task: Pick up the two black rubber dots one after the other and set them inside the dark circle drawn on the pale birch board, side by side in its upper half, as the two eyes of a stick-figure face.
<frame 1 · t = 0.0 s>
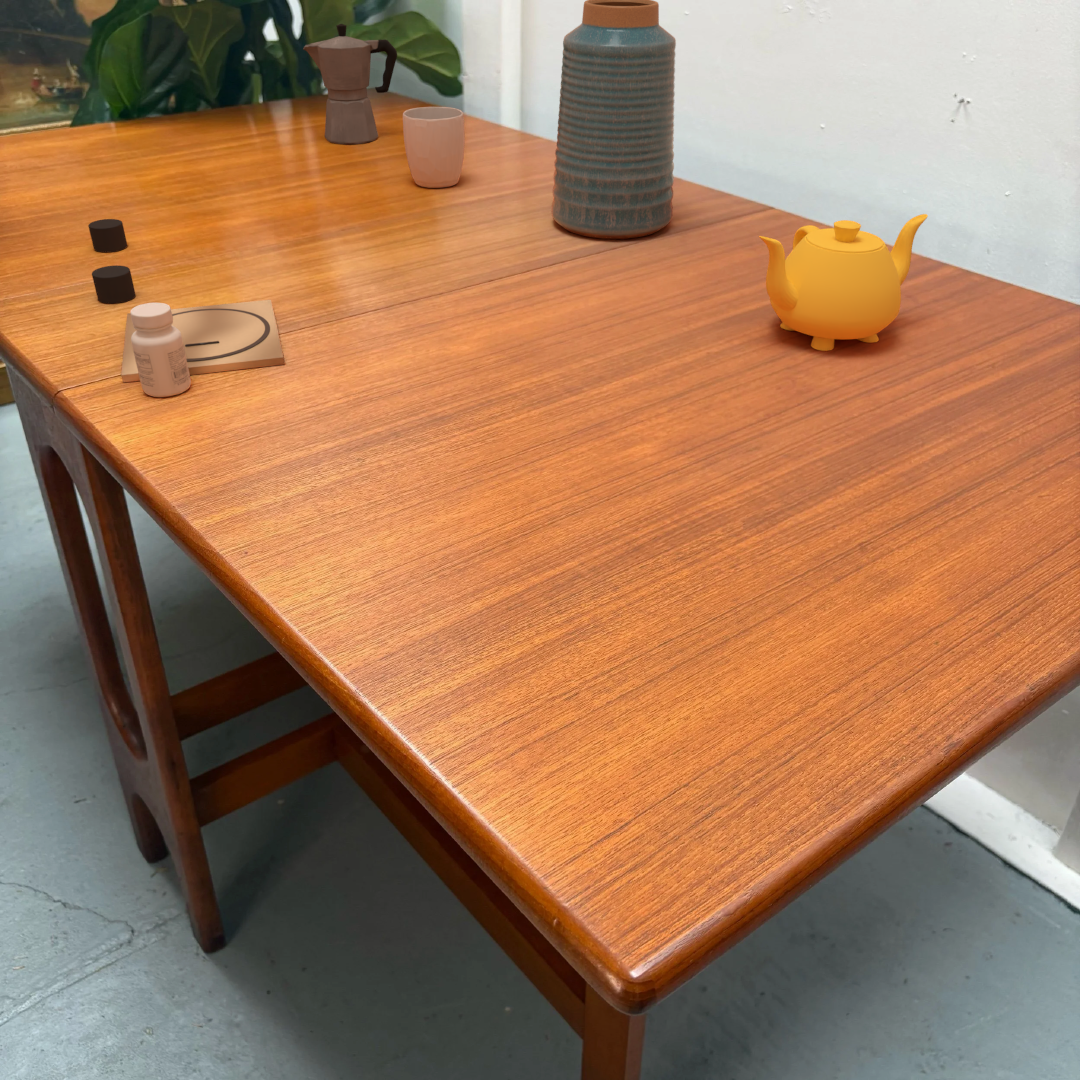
mug: (432, 181, 156), on the table
teapot: (823, 330, 108), on the table
board: (203, 341, 104), on the table
dot right: (116, 297, 114), on the table
vase: (611, 224, 138), on the table
dot left: (110, 247, 129), on the table
coffeepot: (358, 139, 178), on the table
pill bottle: (167, 389, 95), on the table
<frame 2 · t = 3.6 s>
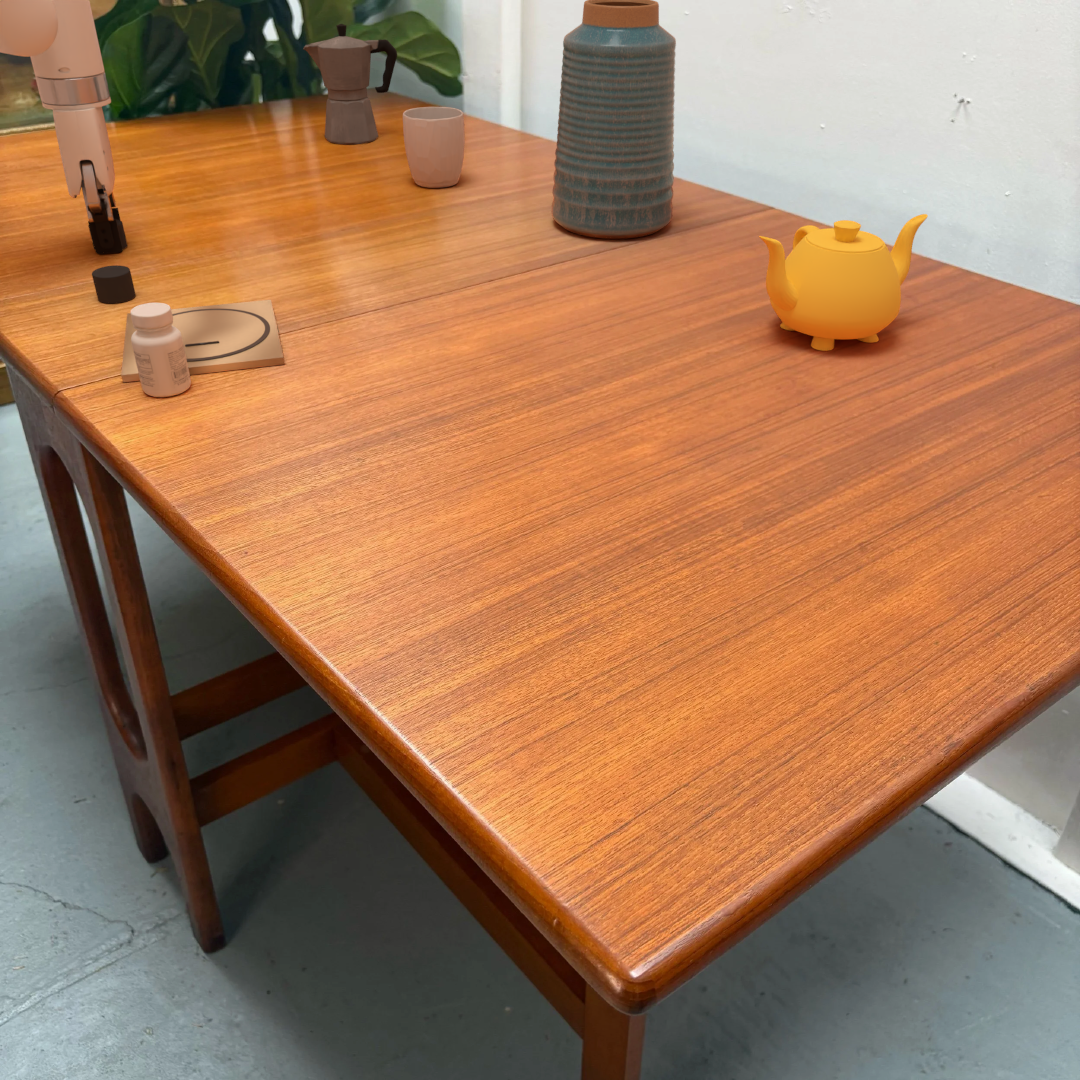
hand: (110, 245, 128), 0 cm above the table, tool pointing down, fingers closed on dot left, 4 cm apart
dot left: (110, 247, 129), on the table, touching gripper
everything else where it was.
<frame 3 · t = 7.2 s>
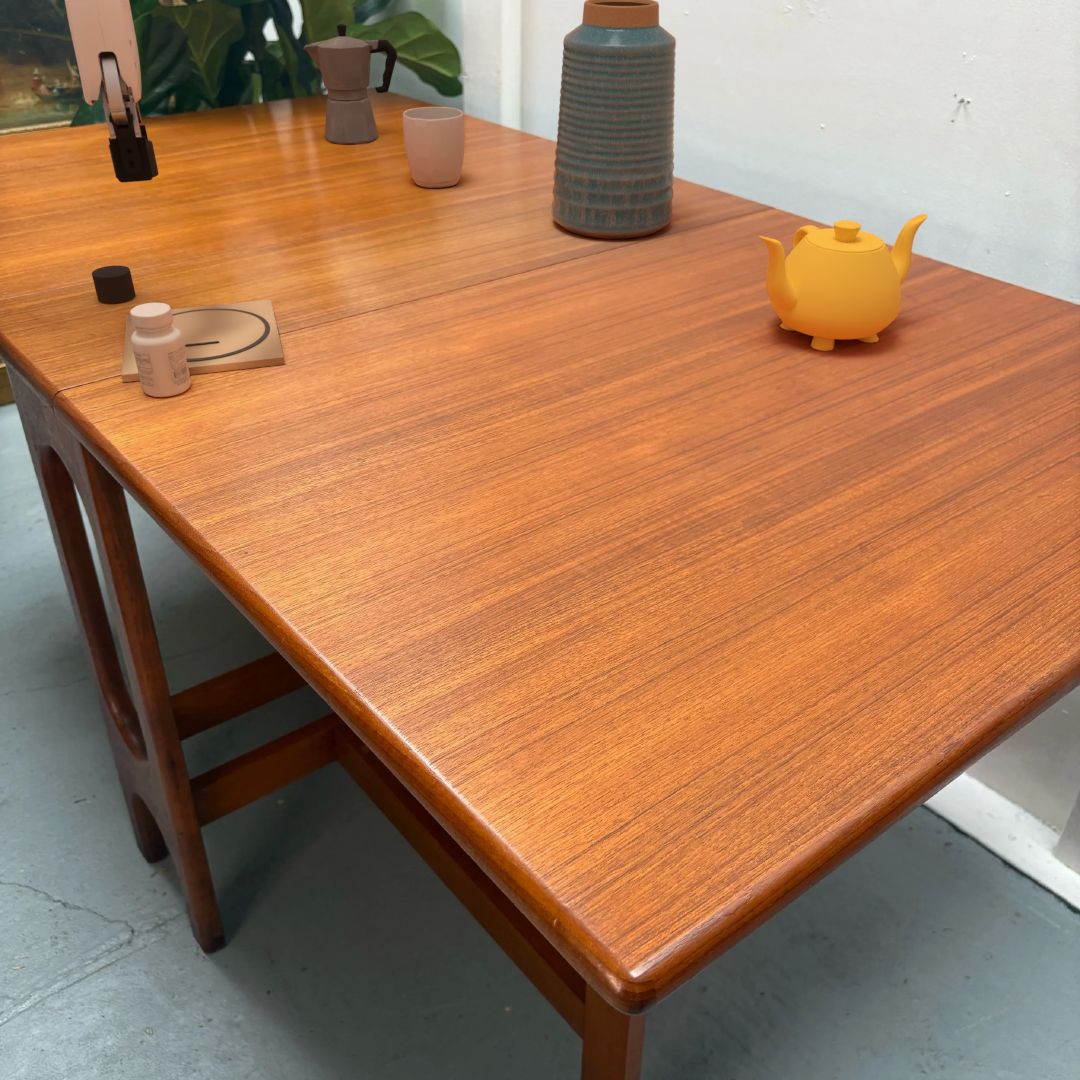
hand: (136, 172, 100), 15 cm above the table, tool pointing down, fingers closed on dot left, 4 cm apart
dot left: (137, 175, 100), point 15 cm above the table, touching gripper
everything else where it was.
when the fingers open (1 cm above the table, at t = 11.1 s): dot left stays where it is, resting on board.
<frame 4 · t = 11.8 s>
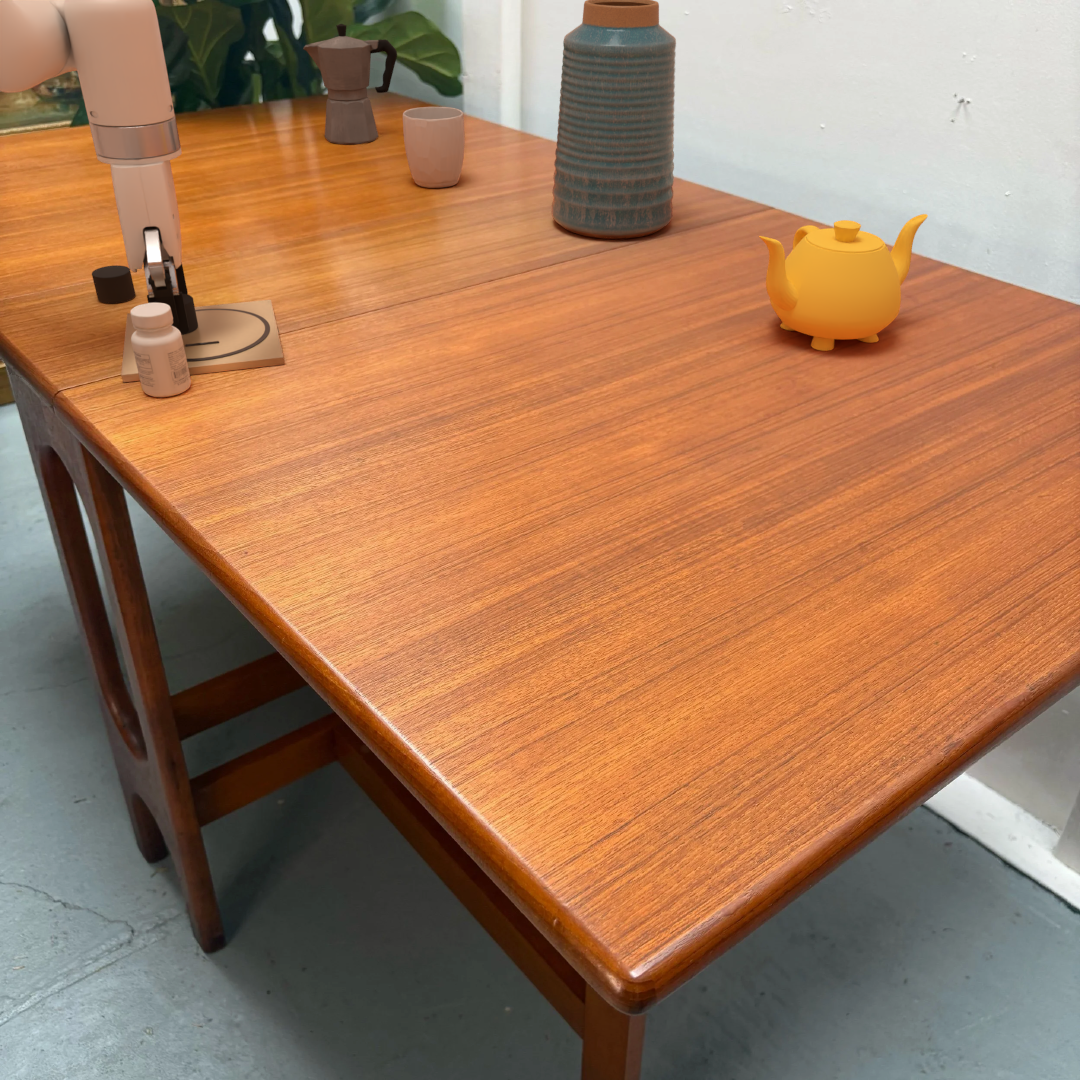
hand: (172, 315, 104), 2 cm above the table, tool pointing down, fingers open, 9 cm apart
dot left: (178, 328, 105), point 1 cm above the table, touching board
everything else where it was.
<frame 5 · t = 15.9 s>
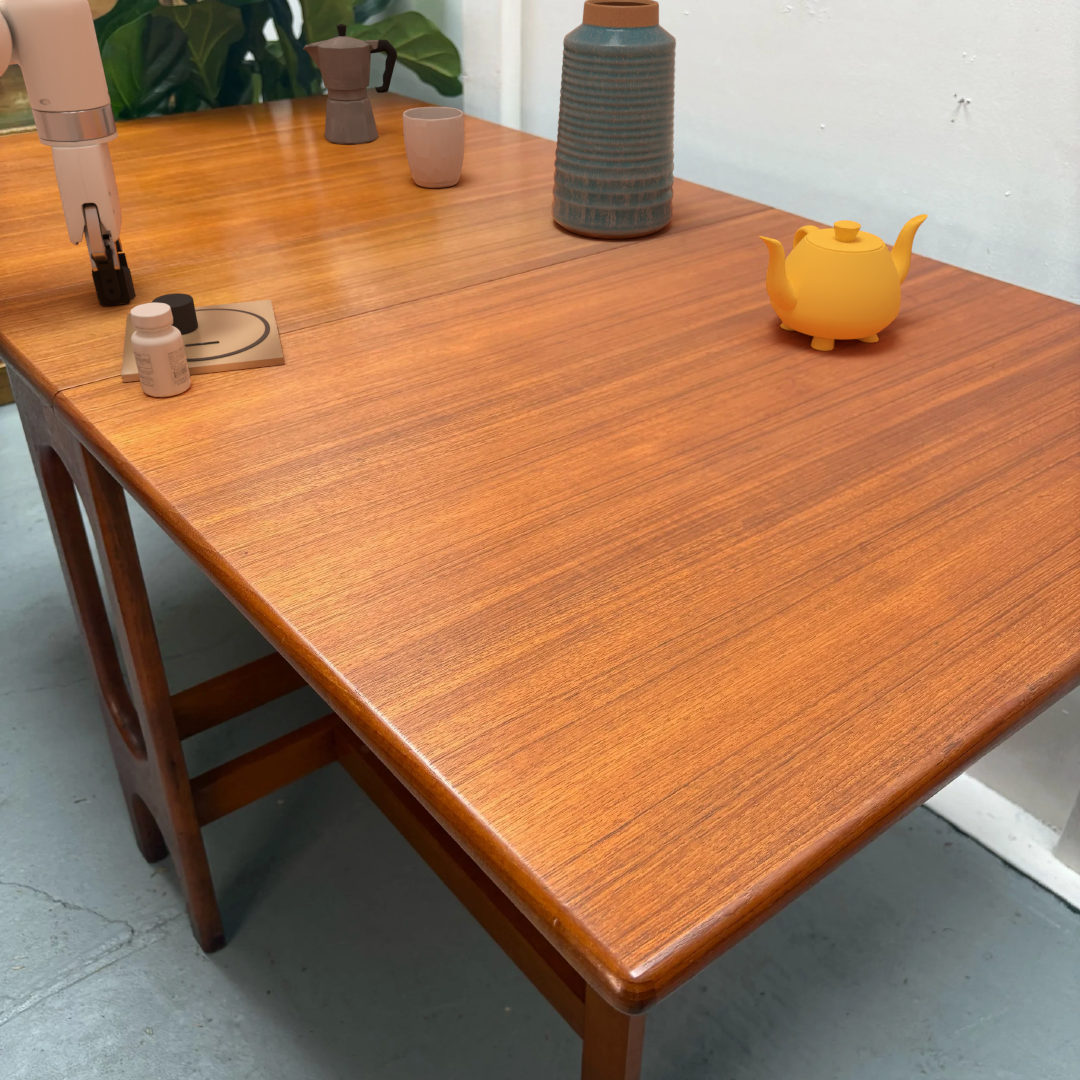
hand: (116, 294, 114), 0 cm above the table, tool pointing down, fingers closed on dot right, 4 cm apart
dot right: (117, 297, 114), on the table, touching gripper
everything else where it was.
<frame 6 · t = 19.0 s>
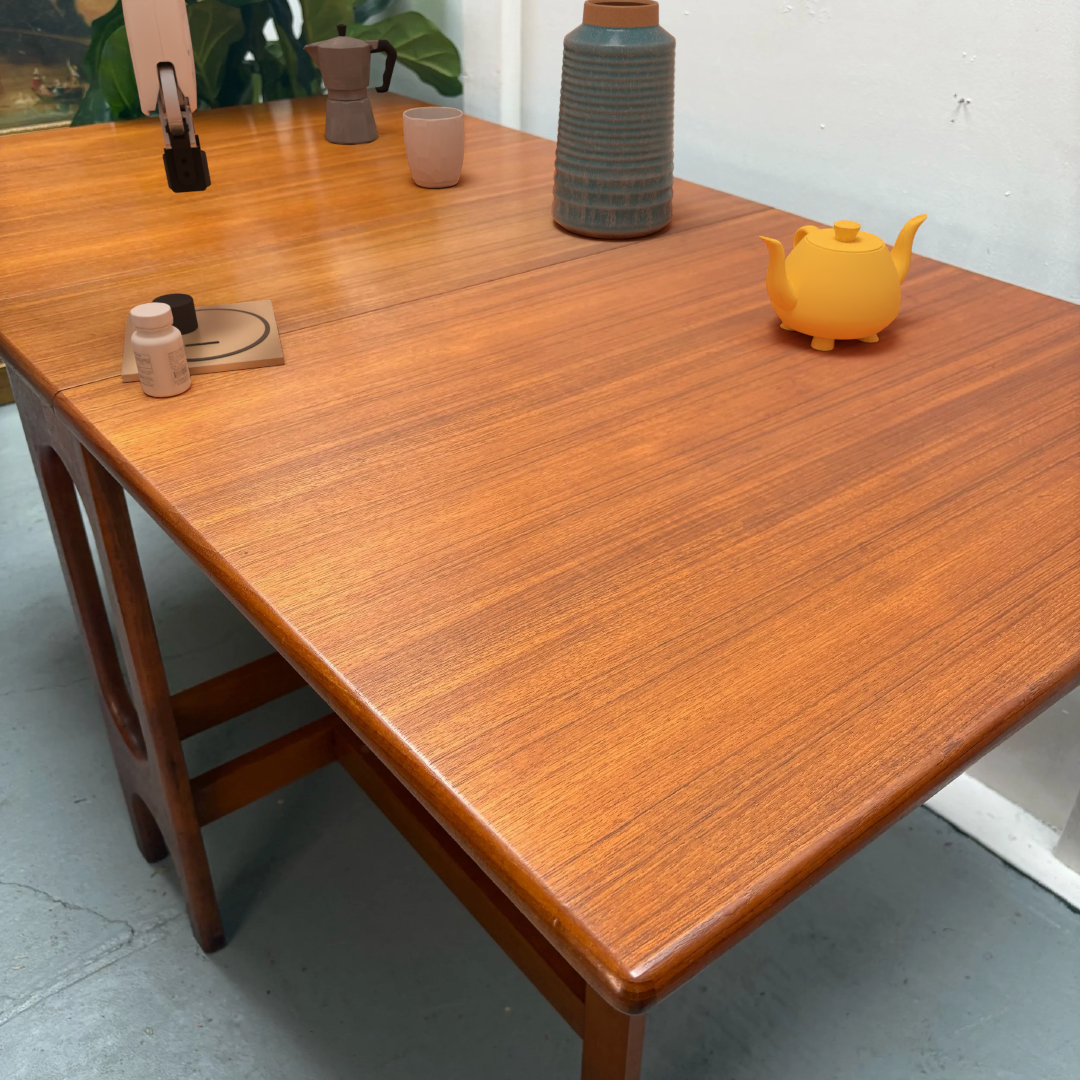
hand: (189, 182, 99), 15 cm above the table, tool pointing down, fingers closed on dot right, 4 cm apart
dot right: (190, 185, 99), point 15 cm above the table, touching gripper
everything else where it was.
when the fingers open (1 cm above the table, at t = 22.4 s): dot right stays where it is, resting on board.
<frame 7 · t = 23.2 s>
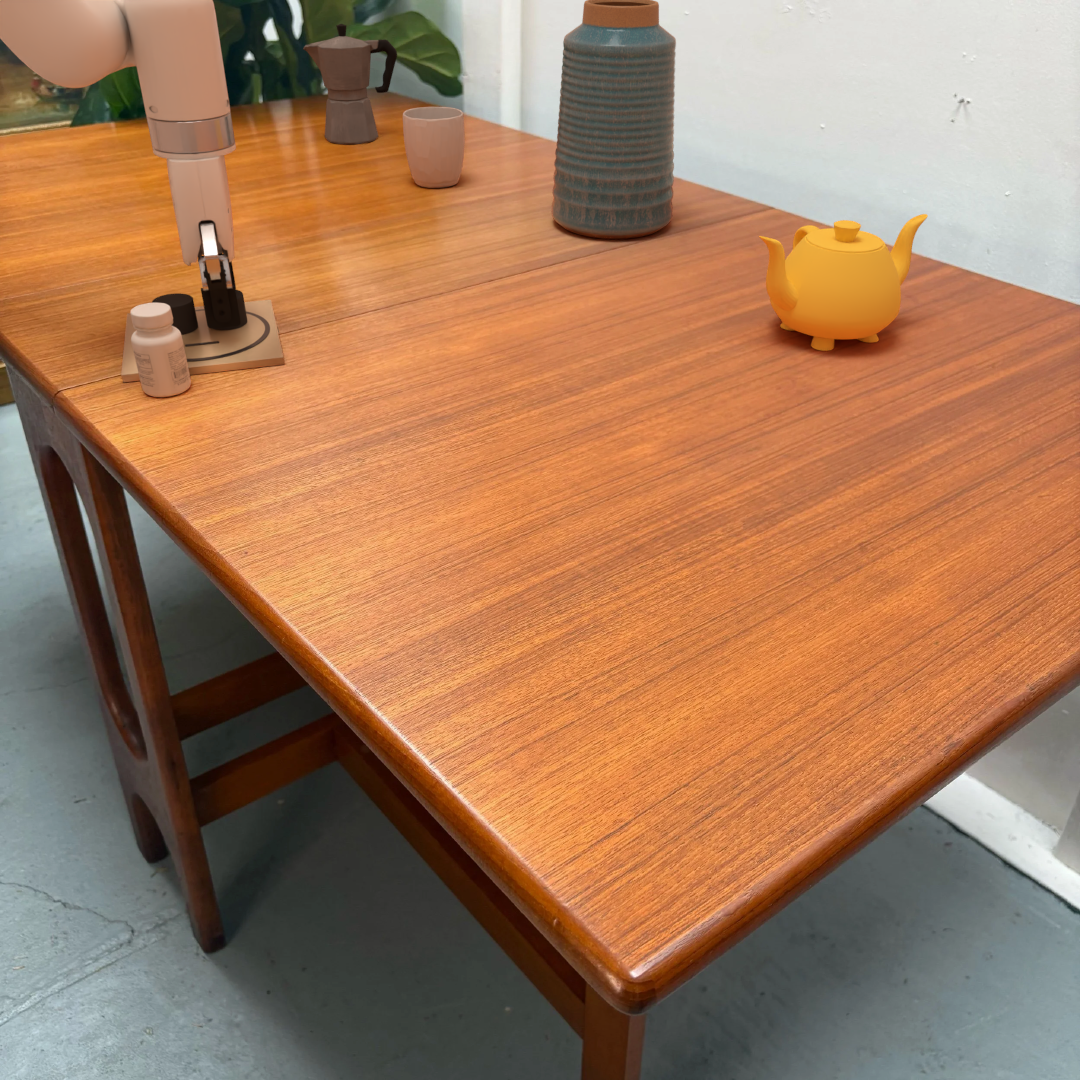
hand: (222, 308, 105), 3 cm above the table, tool pointing down, fingers open, 9 cm apart
dot right: (227, 323, 106), point 1 cm above the table, touching board
everything else where it was.
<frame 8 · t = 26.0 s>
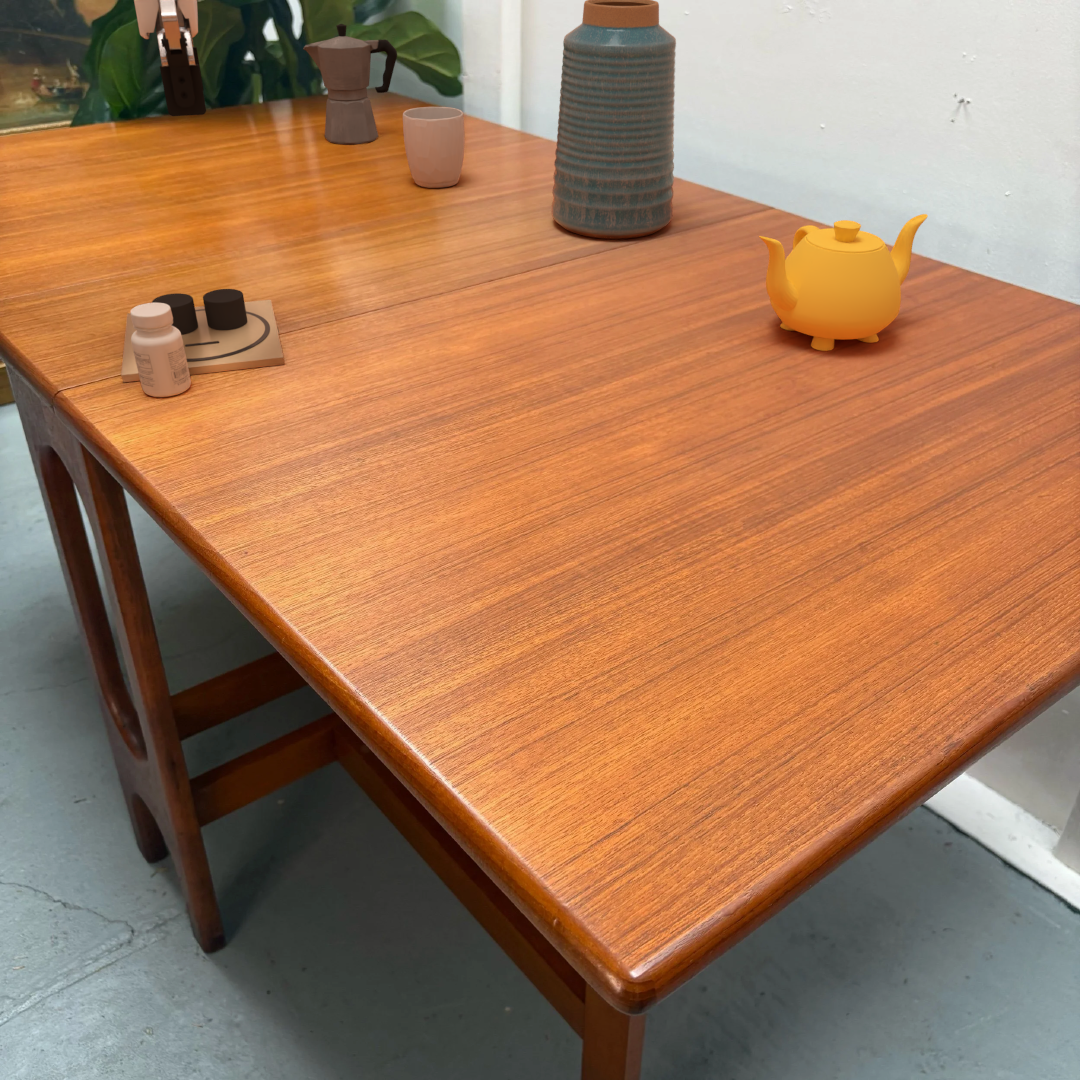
hand: (187, 103, 94), 22 cm above the table, tool pointing down, fingers open, 9 cm apart
nothing on the table moved.
at the end: dot left 0.5 cm from the target spot on the board, point 0.9 cm above the board's base; dot right 0.0 cm from the target spot on the board, point 0.9 cm above the board's base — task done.
